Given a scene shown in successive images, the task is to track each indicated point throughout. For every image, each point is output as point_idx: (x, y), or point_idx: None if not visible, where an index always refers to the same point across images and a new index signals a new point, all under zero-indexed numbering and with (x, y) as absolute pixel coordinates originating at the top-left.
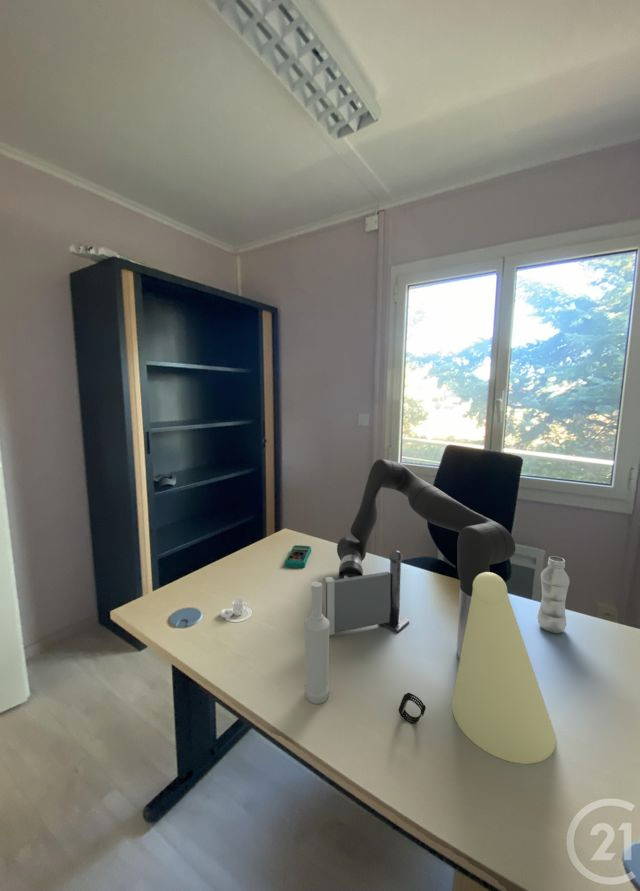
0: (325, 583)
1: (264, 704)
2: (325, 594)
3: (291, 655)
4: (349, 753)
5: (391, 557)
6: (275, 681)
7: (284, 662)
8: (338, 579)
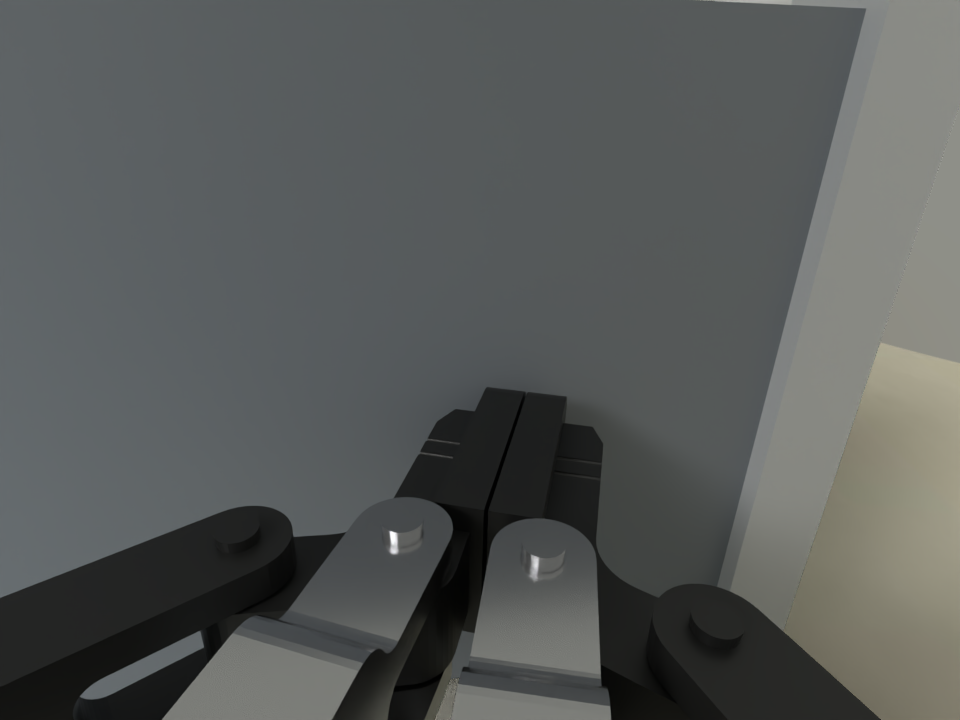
0: (953, 58)
1: (881, 355)
2: (894, 242)
3: (937, 512)
4: None
5: None
6: (907, 406)
7: (943, 477)
8: (760, 5)
